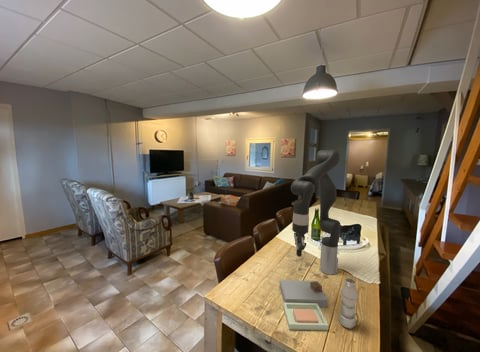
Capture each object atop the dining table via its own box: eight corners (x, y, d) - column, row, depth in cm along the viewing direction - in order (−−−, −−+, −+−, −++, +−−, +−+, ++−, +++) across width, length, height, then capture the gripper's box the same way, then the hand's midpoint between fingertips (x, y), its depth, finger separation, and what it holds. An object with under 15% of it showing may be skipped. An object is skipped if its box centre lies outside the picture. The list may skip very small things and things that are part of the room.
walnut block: (316, 286, 103) (317, 281, 103) (321, 291, 99) (322, 286, 99) (310, 287, 102) (310, 282, 102) (314, 292, 98) (315, 287, 98)
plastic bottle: (338, 328, 83) (342, 283, 81) (337, 315, 89) (340, 274, 87) (356, 333, 81) (360, 287, 78) (353, 320, 87) (357, 278, 85)
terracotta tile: (318, 320, 82) (318, 327, 83) (313, 309, 88) (312, 315, 89) (296, 320, 82) (296, 326, 83) (293, 308, 88) (292, 315, 89)
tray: (317, 308, 94) (317, 303, 93) (327, 330, 82) (328, 325, 81) (283, 307, 94) (283, 302, 93) (289, 329, 82) (289, 324, 82)
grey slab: (316, 287, 108) (316, 280, 108) (327, 307, 94) (327, 299, 94) (279, 286, 108) (279, 280, 108) (285, 306, 94) (285, 298, 94)
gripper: (313, 227, 89) (311, 263, 91) (304, 217, 102) (302, 249, 104) (296, 226, 89) (294, 263, 91) (289, 217, 102) (288, 249, 104)
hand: (298, 255), depth 97 cm, fingers closed
